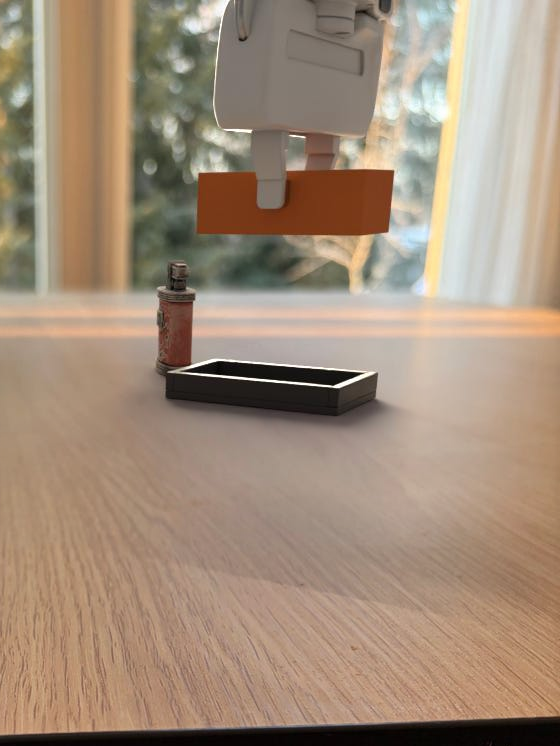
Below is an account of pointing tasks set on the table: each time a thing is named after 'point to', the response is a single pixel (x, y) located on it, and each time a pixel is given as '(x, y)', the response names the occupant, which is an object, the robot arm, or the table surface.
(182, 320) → the lighter
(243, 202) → the block
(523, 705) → the table surface
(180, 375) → the frame
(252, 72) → the robot arm
